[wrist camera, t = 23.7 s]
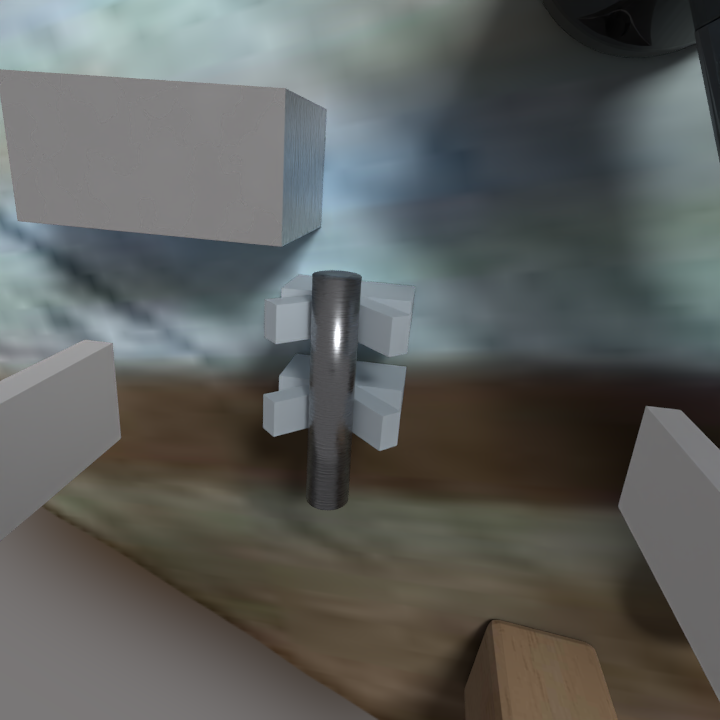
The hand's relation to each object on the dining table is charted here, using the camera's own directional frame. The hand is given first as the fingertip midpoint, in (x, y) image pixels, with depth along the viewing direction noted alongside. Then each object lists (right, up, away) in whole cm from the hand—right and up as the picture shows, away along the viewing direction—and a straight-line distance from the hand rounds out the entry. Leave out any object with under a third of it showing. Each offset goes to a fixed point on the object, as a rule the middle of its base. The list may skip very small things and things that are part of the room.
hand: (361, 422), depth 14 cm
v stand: (-1, +3, +30) cm, 30 cm away
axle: (-2, 0, +24) cm, 24 cm away
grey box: (-11, +16, +27) cm, 33 cm away
